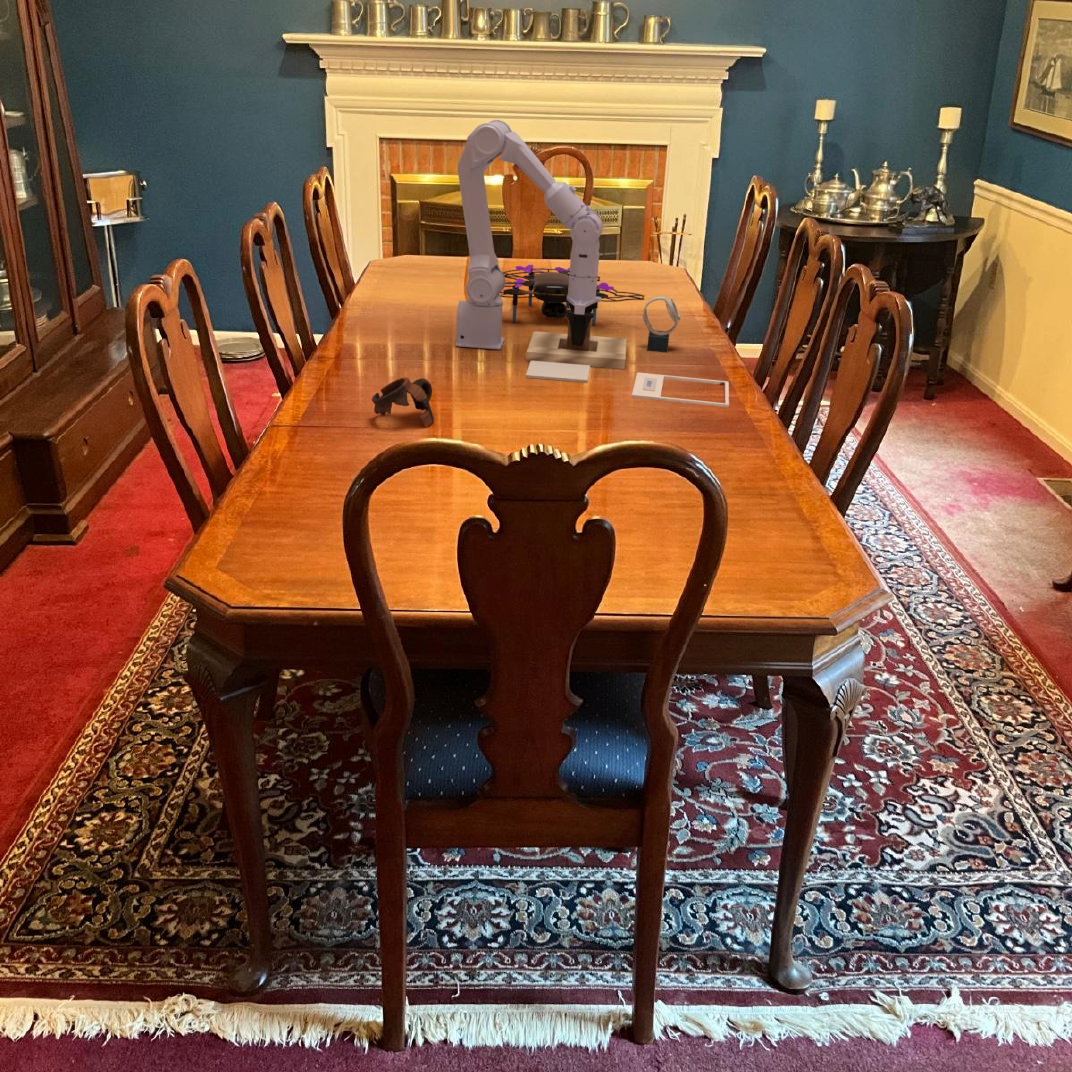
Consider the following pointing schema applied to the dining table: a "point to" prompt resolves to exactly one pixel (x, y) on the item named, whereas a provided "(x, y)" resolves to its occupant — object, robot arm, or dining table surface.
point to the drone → (552, 291)
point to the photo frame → (652, 385)
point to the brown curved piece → (398, 395)
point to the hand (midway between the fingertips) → (578, 340)
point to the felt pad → (558, 371)
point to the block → (585, 345)
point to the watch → (660, 338)
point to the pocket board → (548, 345)
